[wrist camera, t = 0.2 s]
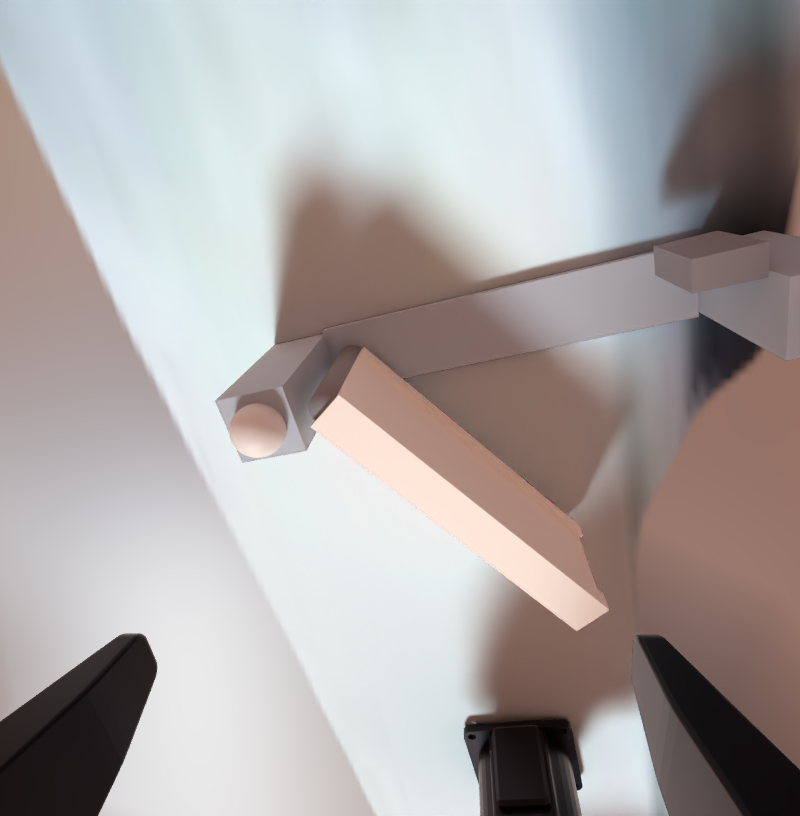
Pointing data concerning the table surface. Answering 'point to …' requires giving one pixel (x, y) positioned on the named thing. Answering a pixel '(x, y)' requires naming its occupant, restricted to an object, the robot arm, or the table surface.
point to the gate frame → (532, 325)
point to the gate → (455, 483)
